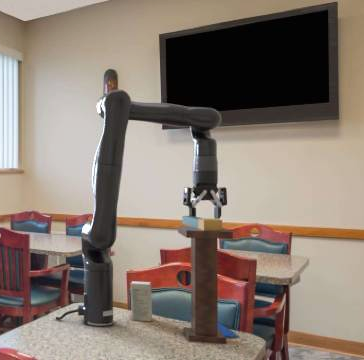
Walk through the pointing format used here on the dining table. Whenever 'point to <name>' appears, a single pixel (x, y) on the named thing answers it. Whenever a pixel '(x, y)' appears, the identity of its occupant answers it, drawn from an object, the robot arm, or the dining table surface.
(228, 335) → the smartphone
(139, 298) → the cosmetic box
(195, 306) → the shelf stand
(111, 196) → the robot arm
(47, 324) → the dining table surface
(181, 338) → the dining table surface
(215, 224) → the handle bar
